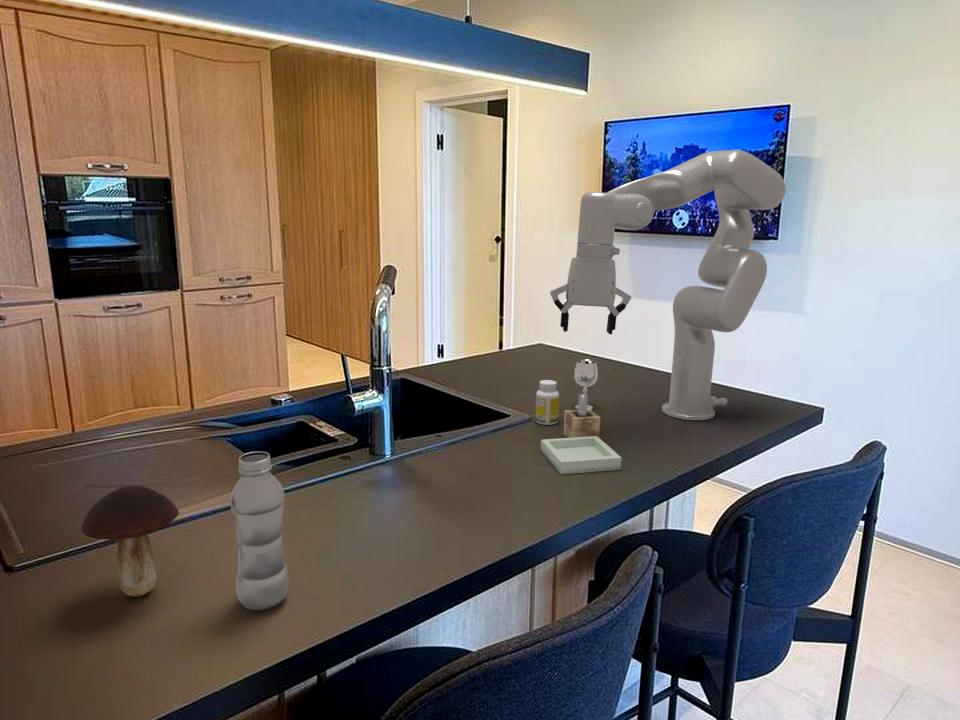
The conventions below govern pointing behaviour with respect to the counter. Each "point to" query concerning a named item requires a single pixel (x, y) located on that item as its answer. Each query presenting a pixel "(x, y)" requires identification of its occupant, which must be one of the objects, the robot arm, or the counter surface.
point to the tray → (580, 455)
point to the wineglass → (586, 375)
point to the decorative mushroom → (131, 531)
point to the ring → (581, 424)
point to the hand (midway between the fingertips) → (587, 331)
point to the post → (582, 405)
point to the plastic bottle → (259, 533)
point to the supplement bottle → (547, 403)
